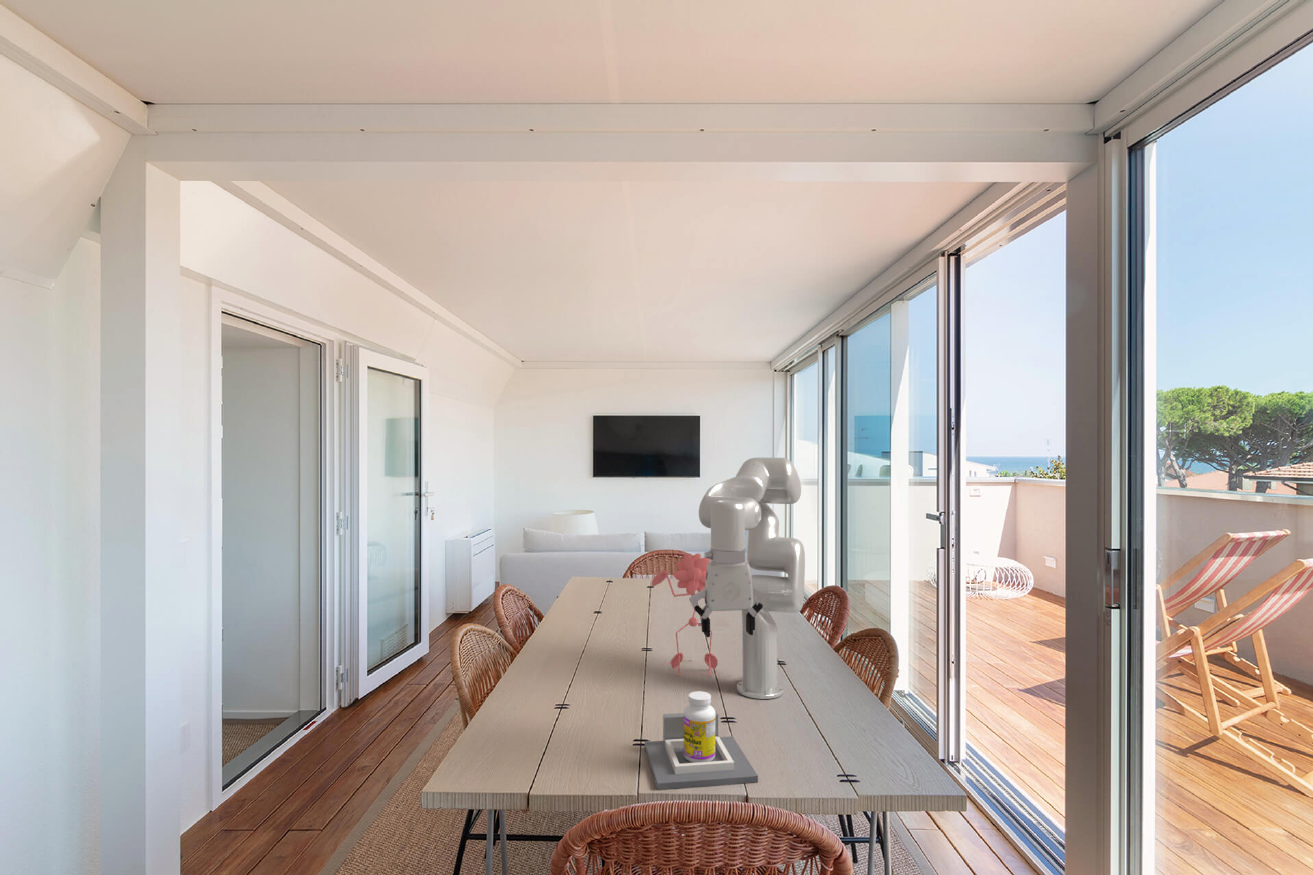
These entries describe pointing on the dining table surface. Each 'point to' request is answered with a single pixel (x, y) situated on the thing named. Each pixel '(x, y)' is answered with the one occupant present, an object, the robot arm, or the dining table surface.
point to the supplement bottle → (699, 728)
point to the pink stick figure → (691, 579)
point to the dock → (682, 773)
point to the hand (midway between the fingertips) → (728, 634)
